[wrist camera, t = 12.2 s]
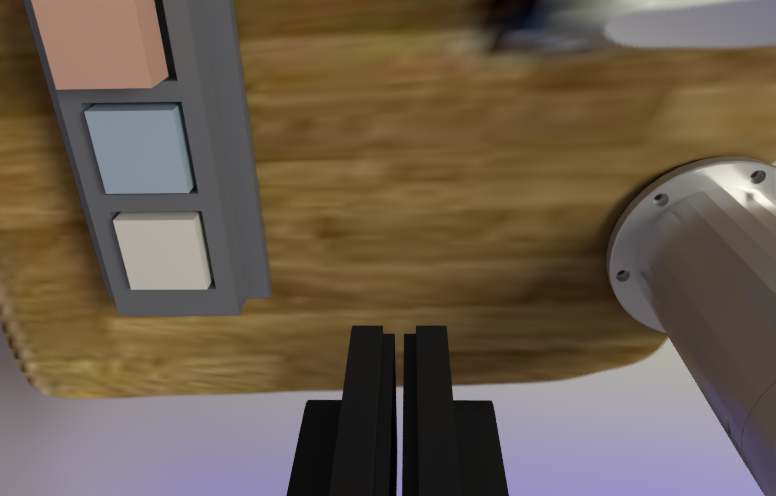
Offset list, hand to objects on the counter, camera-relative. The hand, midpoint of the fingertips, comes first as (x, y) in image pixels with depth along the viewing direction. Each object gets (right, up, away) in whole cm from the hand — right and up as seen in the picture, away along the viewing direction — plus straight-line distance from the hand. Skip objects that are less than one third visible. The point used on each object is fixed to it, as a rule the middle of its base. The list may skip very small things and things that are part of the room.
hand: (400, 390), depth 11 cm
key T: (-14, +9, +25) cm, 30 cm away
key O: (-14, +14, +20) cm, 28 cm away
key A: (-14, +3, +28) cm, 32 cm away
